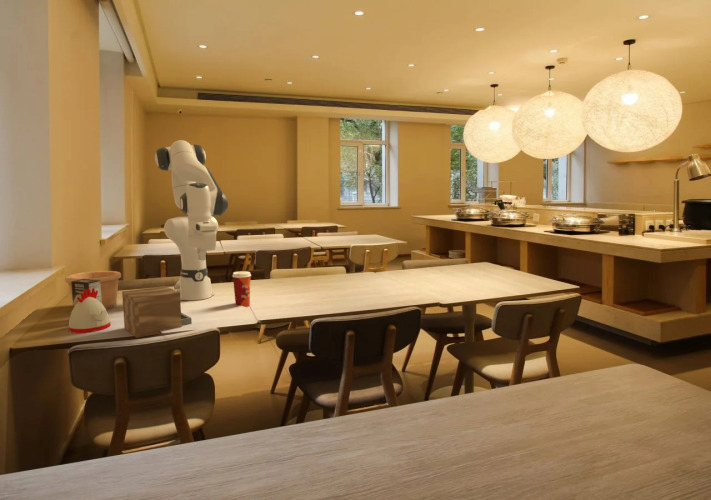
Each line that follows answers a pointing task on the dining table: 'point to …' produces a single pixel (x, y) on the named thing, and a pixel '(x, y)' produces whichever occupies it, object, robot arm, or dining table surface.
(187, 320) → the tray
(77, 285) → the coffee box
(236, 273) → the coffee cup
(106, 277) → the pottery
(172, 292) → the wood grain block
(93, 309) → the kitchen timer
